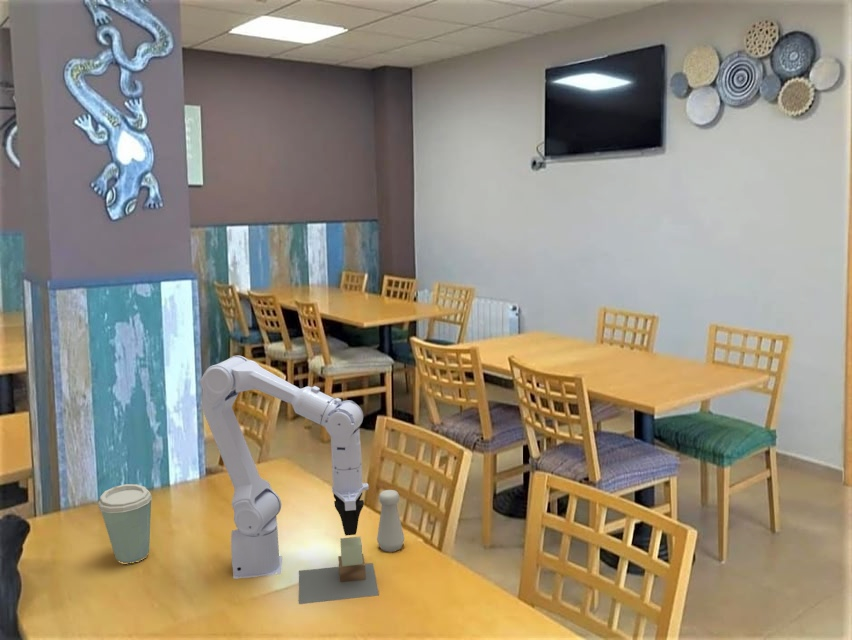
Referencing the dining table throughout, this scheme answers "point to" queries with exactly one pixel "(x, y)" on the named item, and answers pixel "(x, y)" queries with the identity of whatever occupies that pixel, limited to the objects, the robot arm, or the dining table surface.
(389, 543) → the salt shaker
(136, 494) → the disposable coffee cup
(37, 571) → the dining table surface
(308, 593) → the slate mat
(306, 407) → the robot arm
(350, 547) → the sage block
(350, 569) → the walnut block
